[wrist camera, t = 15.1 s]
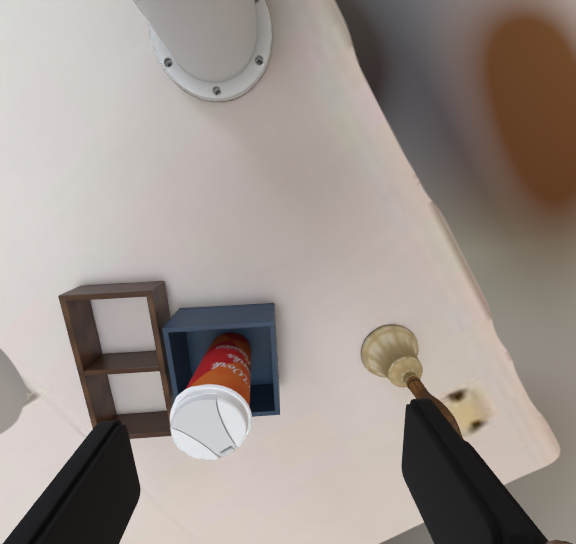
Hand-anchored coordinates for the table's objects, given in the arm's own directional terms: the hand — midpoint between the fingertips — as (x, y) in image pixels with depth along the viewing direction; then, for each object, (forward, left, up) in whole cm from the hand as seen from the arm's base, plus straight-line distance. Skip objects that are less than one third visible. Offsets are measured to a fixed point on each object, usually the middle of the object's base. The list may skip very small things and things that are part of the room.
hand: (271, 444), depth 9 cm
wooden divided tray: (+12, -19, -28) cm, 36 cm away
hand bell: (+14, +16, -28) cm, 36 cm away
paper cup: (+12, -6, -28) cm, 31 cm away
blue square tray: (+12, -6, -28) cm, 31 cm away
